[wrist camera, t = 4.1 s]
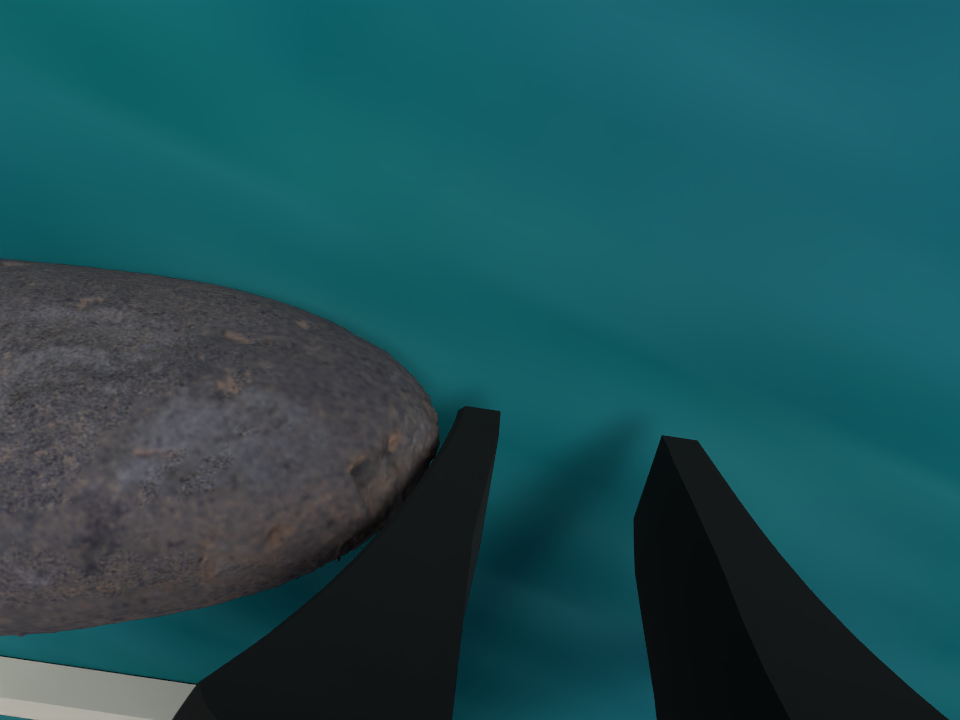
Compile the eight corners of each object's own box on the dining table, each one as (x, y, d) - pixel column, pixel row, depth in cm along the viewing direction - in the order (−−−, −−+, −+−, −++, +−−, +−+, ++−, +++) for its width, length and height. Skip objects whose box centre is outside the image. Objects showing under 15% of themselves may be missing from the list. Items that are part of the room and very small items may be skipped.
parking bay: (367, -888, 7) (314, -1111, 5) (347, 724, 22) (332, 784, 21) (-995, -1059, 7) (-1434, -1325, 5) (-62, 664, 22) (-106, 720, 21)
